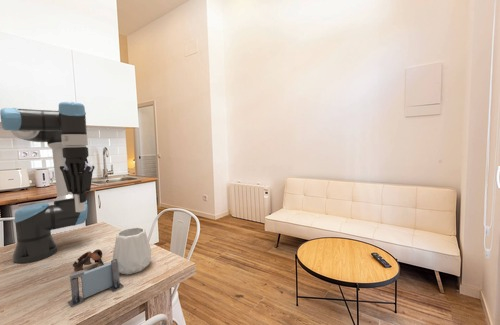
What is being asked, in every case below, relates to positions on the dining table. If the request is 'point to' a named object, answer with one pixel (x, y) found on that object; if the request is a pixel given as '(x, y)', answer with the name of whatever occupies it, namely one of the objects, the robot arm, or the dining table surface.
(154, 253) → the dining table surface
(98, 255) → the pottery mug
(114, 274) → the post
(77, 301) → the hinge post
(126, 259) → the vase
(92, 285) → the gate
